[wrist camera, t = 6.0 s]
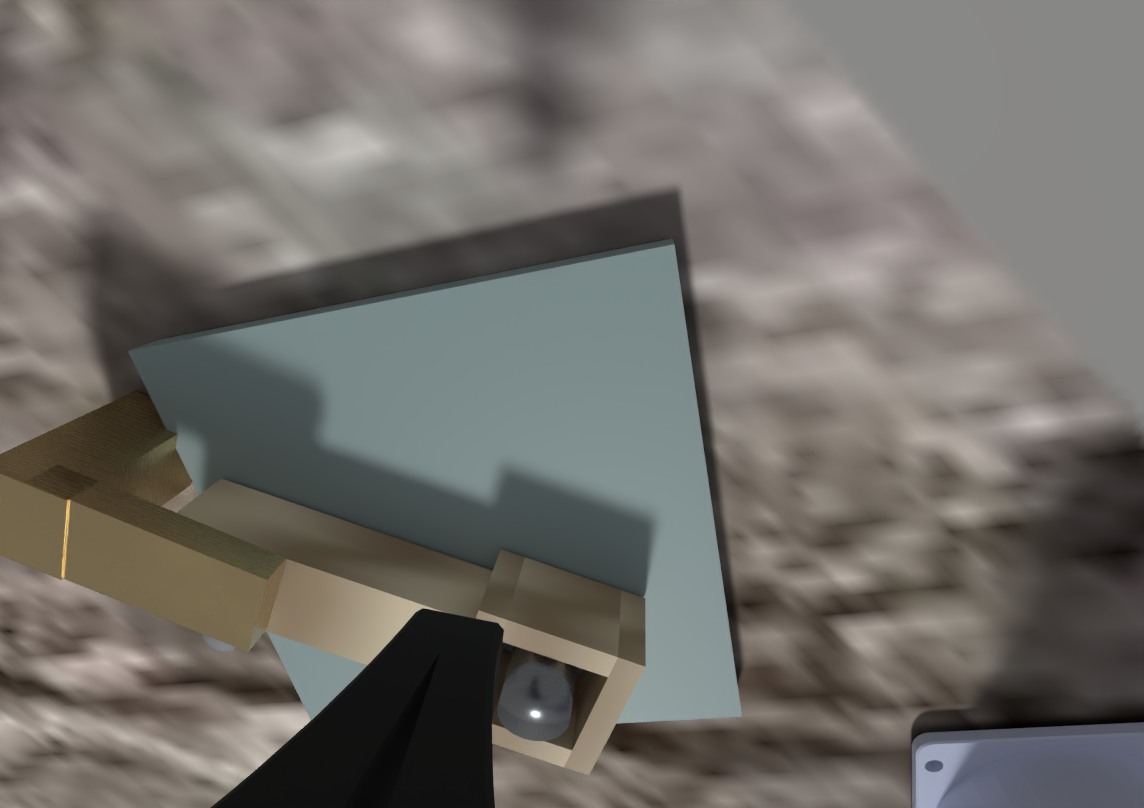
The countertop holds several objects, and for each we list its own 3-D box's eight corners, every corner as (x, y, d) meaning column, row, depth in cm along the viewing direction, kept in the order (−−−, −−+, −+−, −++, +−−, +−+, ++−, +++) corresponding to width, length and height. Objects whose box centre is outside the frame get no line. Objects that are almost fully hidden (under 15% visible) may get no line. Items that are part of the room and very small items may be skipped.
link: (645, 598, 16) (645, 666, 14) (595, 700, 18) (588, 775, 16) (223, 454, 16) (157, 501, 14) (212, 571, 18) (151, 630, 16)
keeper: (127, 458, 18) (-22, 546, 14) (136, 390, 17) (-22, 464, 13) (334, 543, 18) (246, 653, 14) (353, 482, 17) (266, 581, 13)
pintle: (590, 622, 18) (577, 739, 15) (533, 627, 19) (507, 743, 15) (578, 575, 18) (561, 684, 14) (520, 581, 18) (489, 690, 14)
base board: (737, 688, 19) (755, 791, 16) (334, 714, 21) (283, 807, 18) (672, 238, 14) (680, 261, 11) (156, 340, 16) (45, 382, 13)
